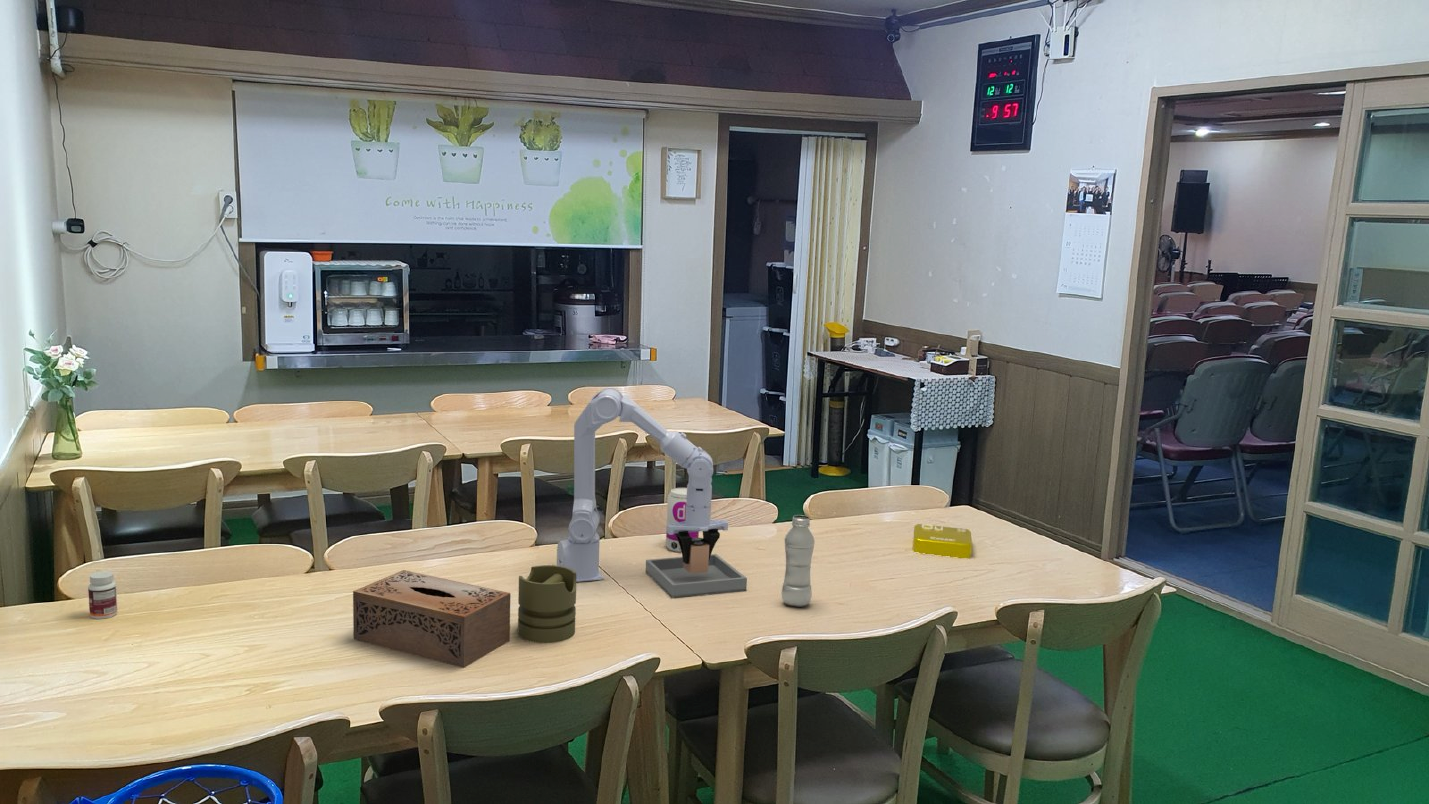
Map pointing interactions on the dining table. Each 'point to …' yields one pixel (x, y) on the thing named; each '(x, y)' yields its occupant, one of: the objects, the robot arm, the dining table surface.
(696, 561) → the shaker
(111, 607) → the pill bottle
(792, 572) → the plastic bottle
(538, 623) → the piston
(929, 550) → the element tile
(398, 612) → the tissue box cover
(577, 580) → the robot arm
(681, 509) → the supplement can
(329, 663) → the dining table surface
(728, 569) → the tray
